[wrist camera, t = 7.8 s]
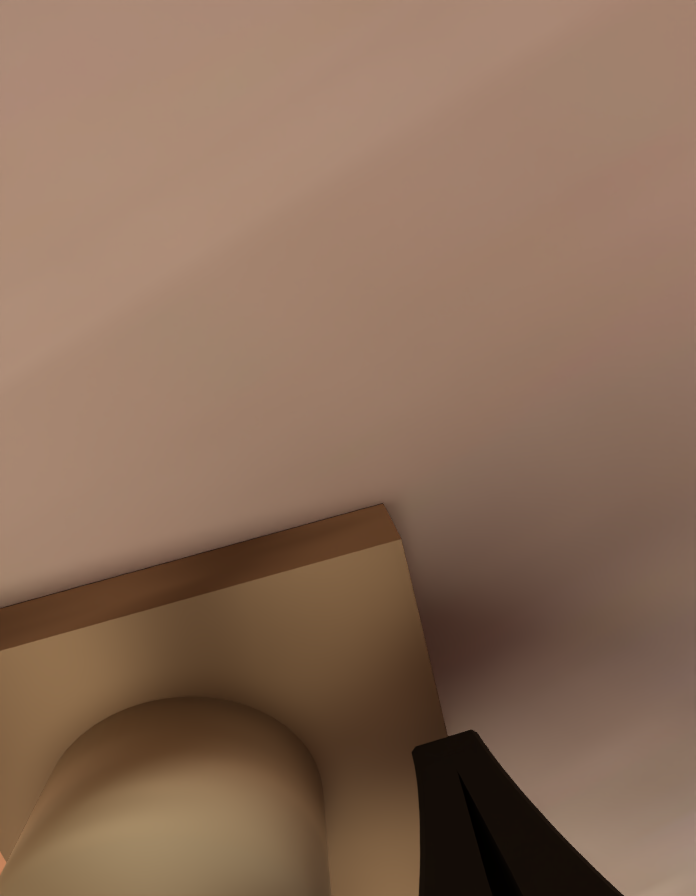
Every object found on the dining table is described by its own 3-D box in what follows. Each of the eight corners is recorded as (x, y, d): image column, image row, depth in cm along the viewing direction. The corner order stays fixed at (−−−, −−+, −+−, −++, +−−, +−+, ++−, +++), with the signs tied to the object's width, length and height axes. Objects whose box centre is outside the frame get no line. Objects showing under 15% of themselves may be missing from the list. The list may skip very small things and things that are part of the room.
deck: (382, 503, 12) (401, 538, 10) (500, 990, 17) (527, 1075, 15) (-38, 619, 12) (-102, 679, 10) (207, 1086, 17) (197, 1187, 15)
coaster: (211, 644, 10) (183, 770, 8) (373, 817, 12) (401, 975, 9) (-21, 803, 11) (-134, 984, 8) (168, 951, 12) (133, 1145, 9)
